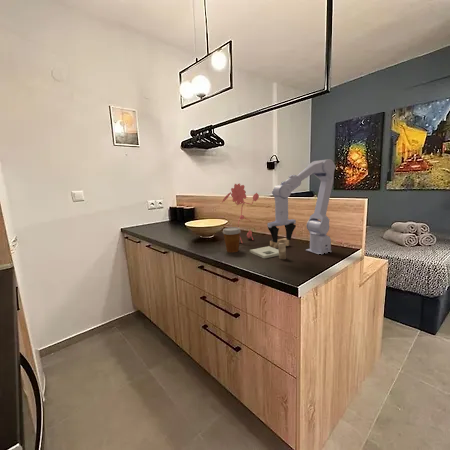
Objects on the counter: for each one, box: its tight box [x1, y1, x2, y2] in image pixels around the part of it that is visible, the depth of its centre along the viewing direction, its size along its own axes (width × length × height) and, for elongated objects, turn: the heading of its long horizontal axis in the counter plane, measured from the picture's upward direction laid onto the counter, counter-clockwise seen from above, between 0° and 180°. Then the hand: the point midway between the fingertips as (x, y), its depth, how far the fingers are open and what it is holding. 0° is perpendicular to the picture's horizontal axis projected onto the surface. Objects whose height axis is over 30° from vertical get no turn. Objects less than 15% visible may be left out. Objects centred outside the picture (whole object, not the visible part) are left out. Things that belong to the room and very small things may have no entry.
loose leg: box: [278, 243, 287, 260], centre depth 117 cm, size 3×3×7 cm
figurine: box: [221, 183, 260, 244], centre depth 153 cm, size 15×26×35 cm, turn 128°
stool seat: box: [249, 245, 279, 259], centre depth 126 cm, size 13×12×1 cm
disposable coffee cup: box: [222, 226, 242, 254], centre depth 133 cm, size 10×10×12 cm
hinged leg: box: [269, 237, 290, 249], centre depth 136 cm, size 11×2×5 cm, turn 114°
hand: (282, 241), depth 116 cm, fingers open, 7 cm apart
